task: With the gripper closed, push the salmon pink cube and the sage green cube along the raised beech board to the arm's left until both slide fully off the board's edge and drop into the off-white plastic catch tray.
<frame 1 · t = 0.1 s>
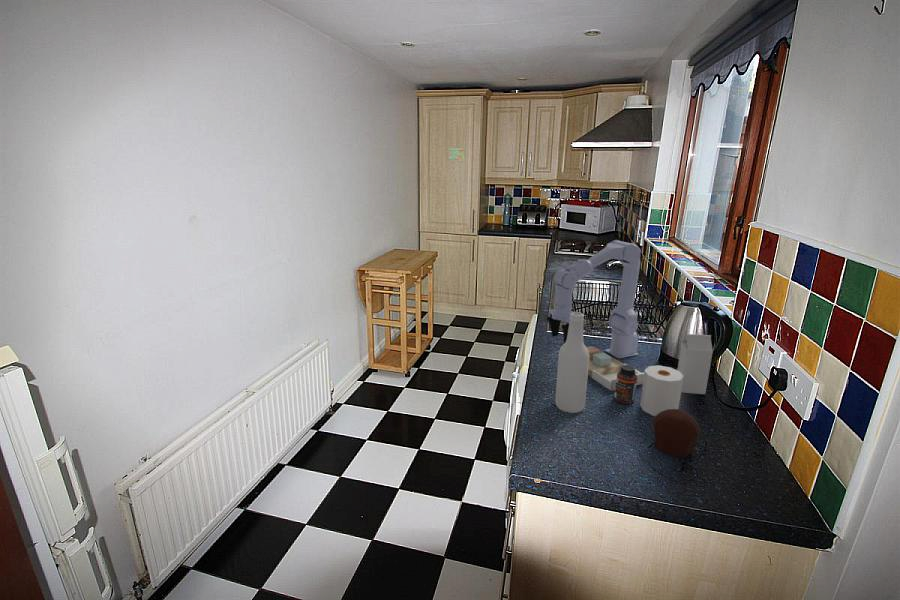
hand: (560, 339, 162), 10 cm above the worktop, fingers open, 7 cm apart
alcohol: (569, 407, 138), on the worktop
beech board: (595, 366, 164), on the worktop
salmon pink cube: (590, 356, 166), point 2 cm above the worktop, touching beech board
supplement bottle: (624, 400, 141), on the worktop
sage green cube: (601, 363, 160), point 2 cm above the worktop, touching beech board
catch tray: (618, 380, 153), on the worktop
muffin: (672, 447, 118), on the worktop
milk carton: (689, 389, 147), on the worktop
toilet paper: (658, 409, 136), on the worktop
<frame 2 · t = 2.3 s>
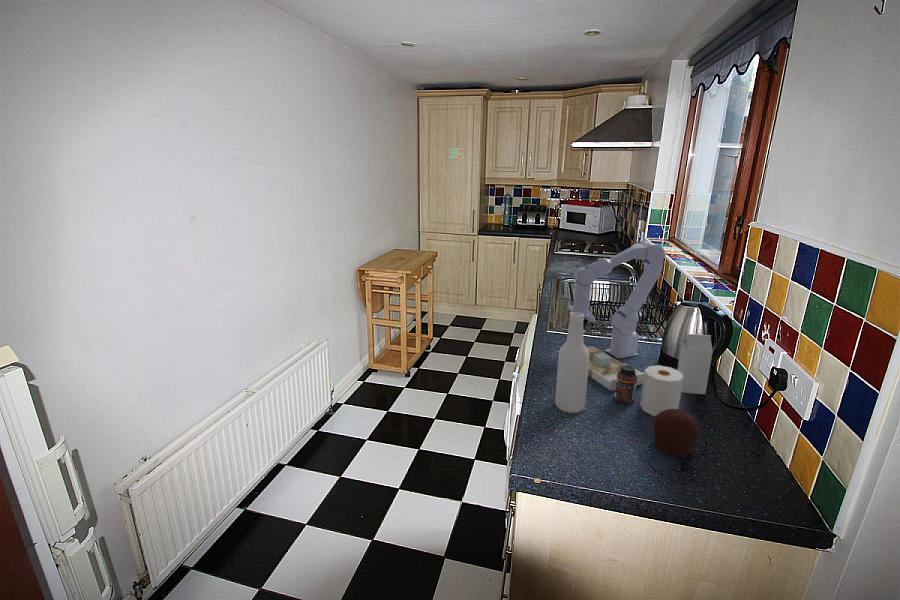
hand: (578, 333, 171), 9 cm above the worktop, fingers closed
nothing on the worktop moved.
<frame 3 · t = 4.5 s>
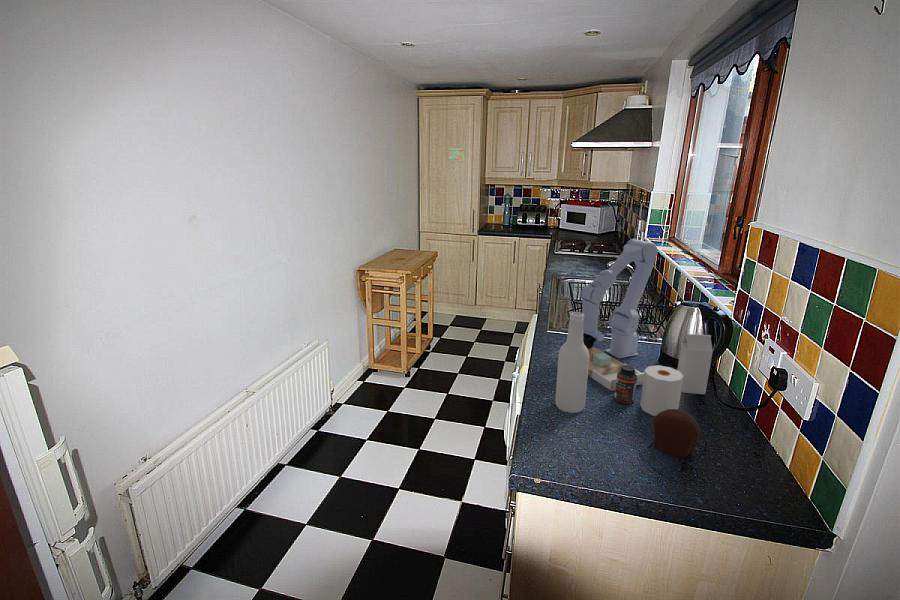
hand: (586, 352, 168), 3 cm above the worktop, fingers closed
salmon pink cube: (592, 358, 165), point 3 cm above the worktop, touching gripper
everything else where it was.
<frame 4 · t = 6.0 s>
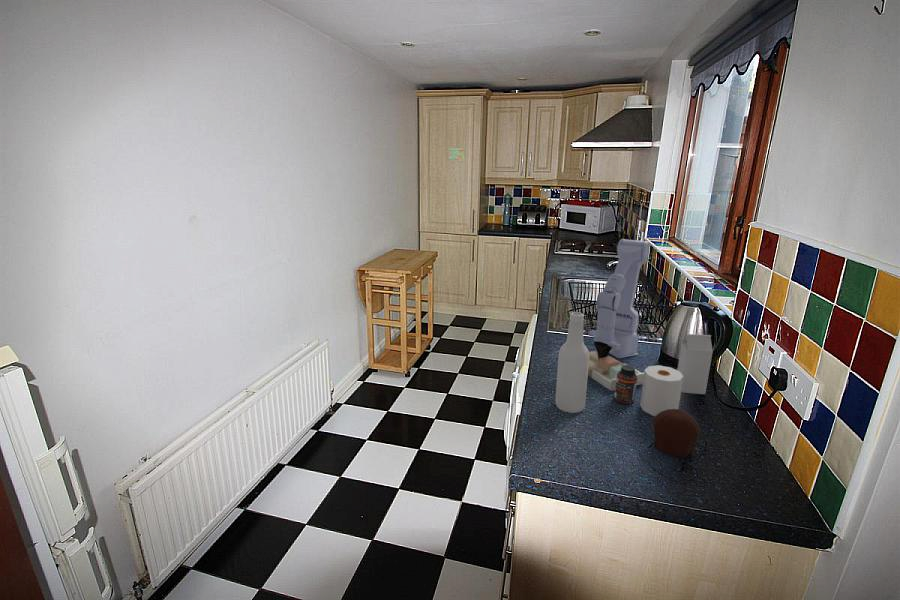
hand: (602, 361, 160), 3 cm above the worktop, fingers closed, pressing on salmon pink cube
salmon pink cube: (608, 367, 157), point 3 cm above the worktop, touching beech board, gripper
sage green cube: (615, 372, 154), point 3 cm above the worktop, tilted 90°, touching catch tray
everything else where it was.
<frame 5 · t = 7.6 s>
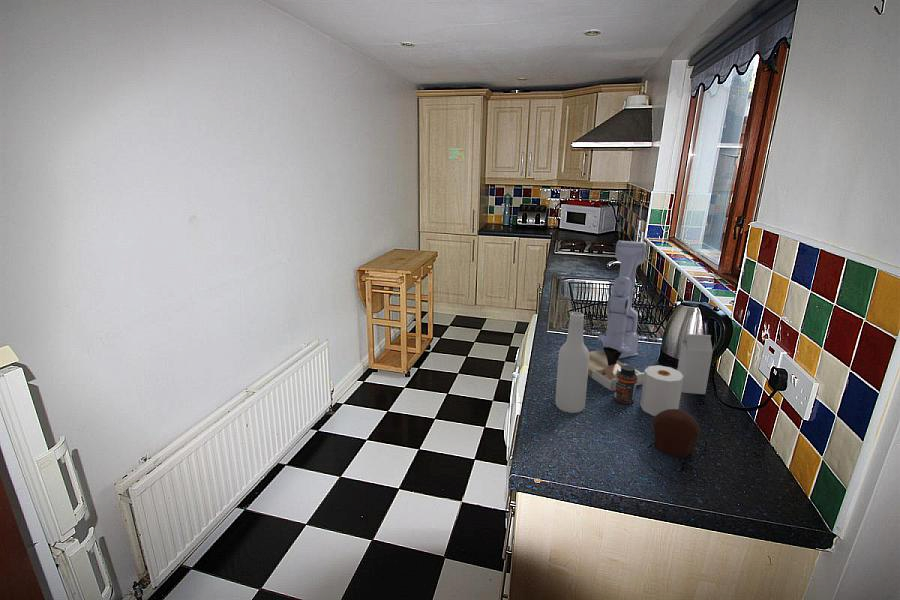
hand: (611, 367, 155), 3 cm above the worktop, fingers closed, pressing on salmon pink cube
salmon pink cube: (613, 375, 154), point 1 cm above the worktop, tilted 18°, touching catch tray, gripper, sage green cube
sage green cube: (620, 373, 151), point 3 cm above the worktop, tilted 108°, touching catch tray, salmon pink cube
everything else where it was.
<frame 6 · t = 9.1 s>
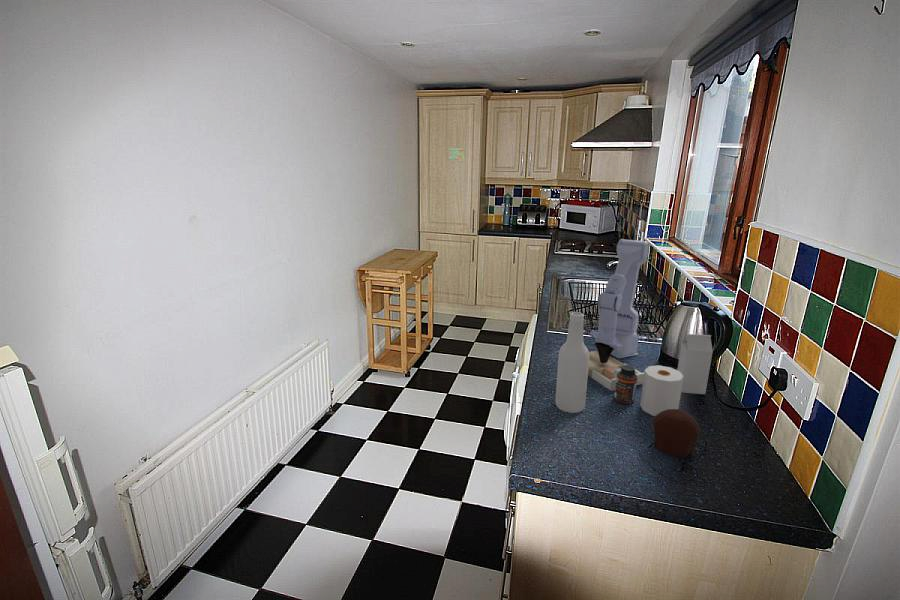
hand: (603, 362, 159), 3 cm above the worktop, fingers closed
salmon pink cube: (613, 377, 155), resting on catch tray
sage green cube: (619, 374, 152), point 3 cm above the worktop, tilted 90°, touching catch tray
everything else where it was.
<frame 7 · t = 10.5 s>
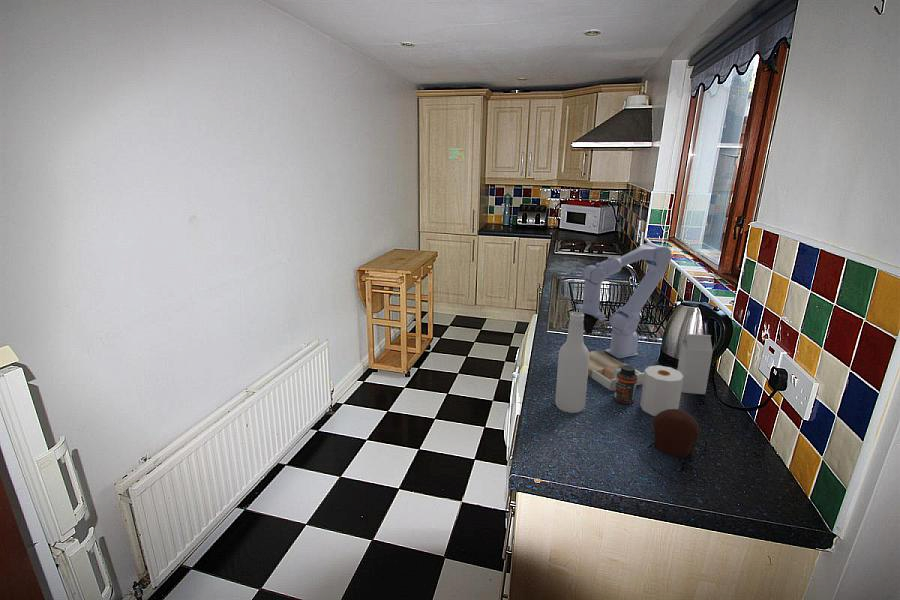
hand: (588, 332, 169), 10 cm above the worktop, fingers closed
nothing on the worktop moved.
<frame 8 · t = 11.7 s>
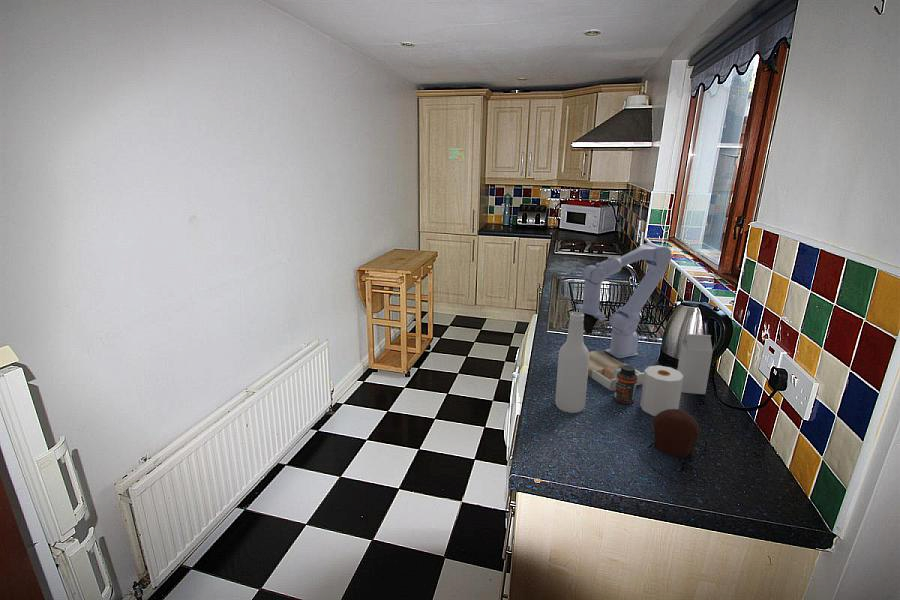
hand: (588, 332, 169), 10 cm above the worktop, fingers closed
nothing on the worktop moved.
at the end: salmon pink cube inside the target area (3.2 cm from its centre), resting on catch tray; sage green cube inside the target area (0.8 cm from its centre), point 2.5 cm above the worktop; salmon pink cube tilted 0° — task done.
